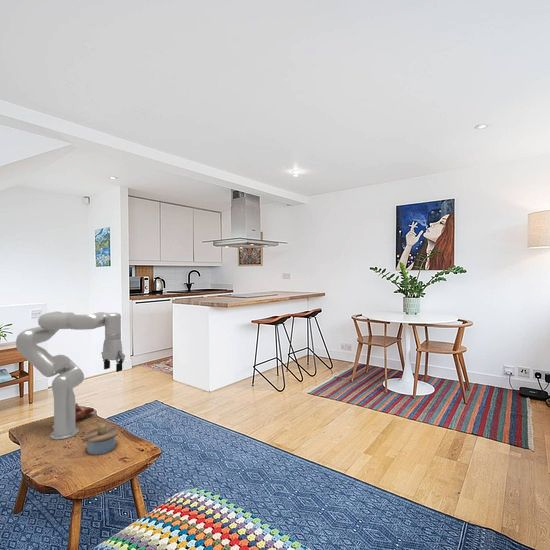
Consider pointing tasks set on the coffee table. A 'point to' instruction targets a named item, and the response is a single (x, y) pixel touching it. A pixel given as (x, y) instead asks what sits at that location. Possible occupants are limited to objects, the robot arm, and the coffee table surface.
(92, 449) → the bowl
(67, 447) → the coffee table surface
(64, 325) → the robot arm
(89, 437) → the lid
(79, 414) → the anatomical model
